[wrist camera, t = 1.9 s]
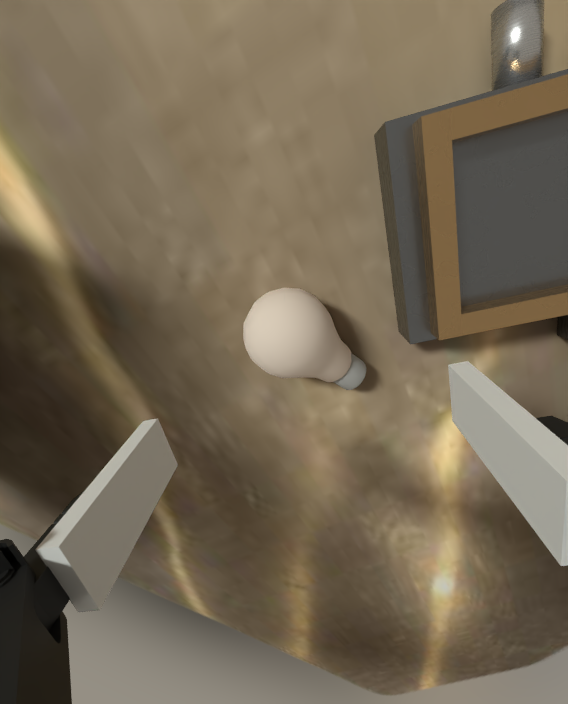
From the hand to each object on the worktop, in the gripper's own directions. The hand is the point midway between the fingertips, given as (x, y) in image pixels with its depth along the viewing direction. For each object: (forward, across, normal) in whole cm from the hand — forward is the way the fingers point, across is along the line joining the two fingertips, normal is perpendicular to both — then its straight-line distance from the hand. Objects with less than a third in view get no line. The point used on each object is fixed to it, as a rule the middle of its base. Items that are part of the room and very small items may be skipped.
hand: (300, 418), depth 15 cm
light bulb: (+14, 0, -1) cm, 14 cm away
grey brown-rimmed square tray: (+13, +16, +5) cm, 21 cm away
